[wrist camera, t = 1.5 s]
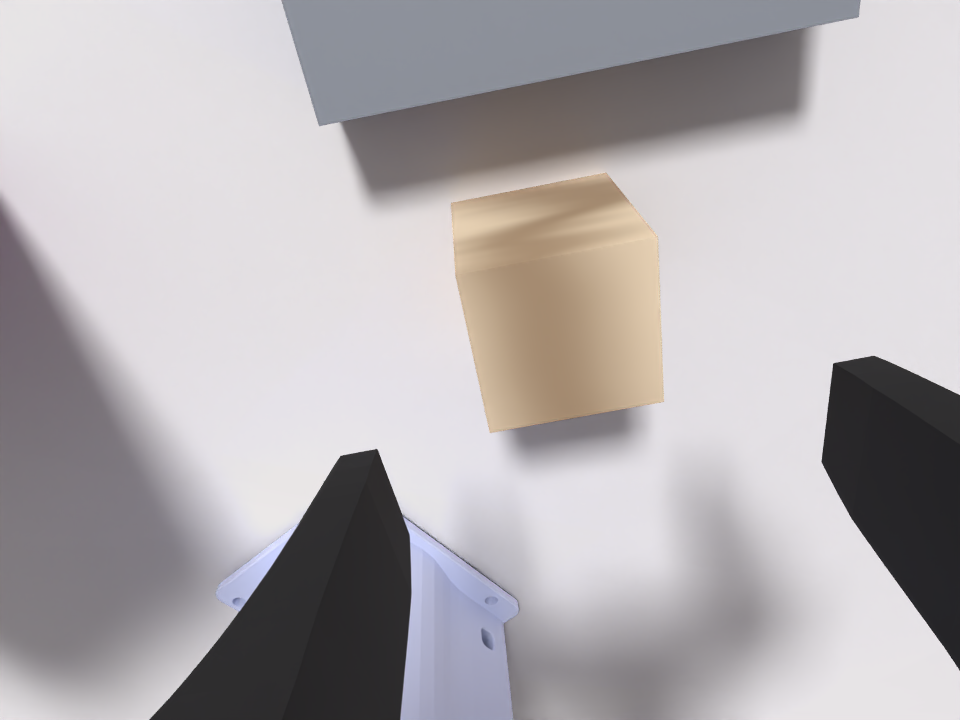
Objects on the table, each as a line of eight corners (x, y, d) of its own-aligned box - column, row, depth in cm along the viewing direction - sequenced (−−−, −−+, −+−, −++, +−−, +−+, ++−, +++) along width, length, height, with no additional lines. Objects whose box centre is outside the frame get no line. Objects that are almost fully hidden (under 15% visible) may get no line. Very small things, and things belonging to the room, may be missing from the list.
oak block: (605, 172, 18) (657, 236, 14) (616, 310, 20) (664, 401, 16) (450, 202, 18) (455, 275, 14) (478, 335, 21) (489, 432, 16)
